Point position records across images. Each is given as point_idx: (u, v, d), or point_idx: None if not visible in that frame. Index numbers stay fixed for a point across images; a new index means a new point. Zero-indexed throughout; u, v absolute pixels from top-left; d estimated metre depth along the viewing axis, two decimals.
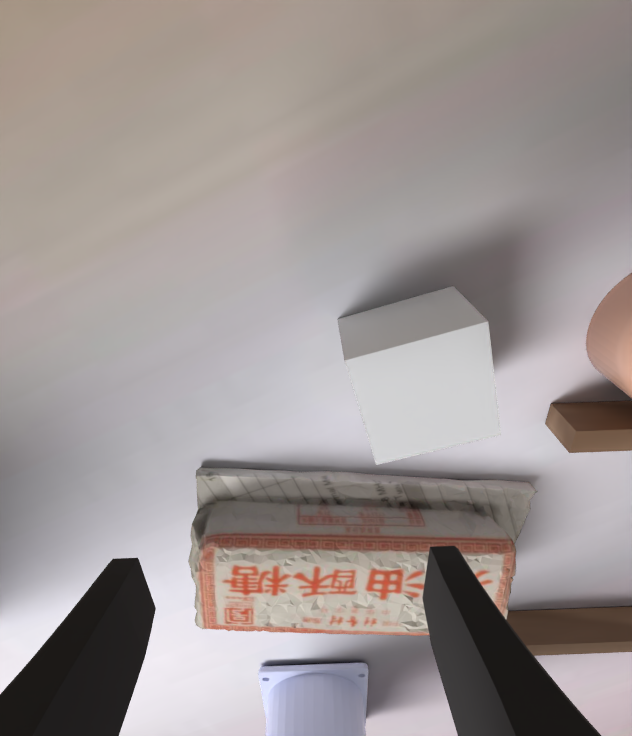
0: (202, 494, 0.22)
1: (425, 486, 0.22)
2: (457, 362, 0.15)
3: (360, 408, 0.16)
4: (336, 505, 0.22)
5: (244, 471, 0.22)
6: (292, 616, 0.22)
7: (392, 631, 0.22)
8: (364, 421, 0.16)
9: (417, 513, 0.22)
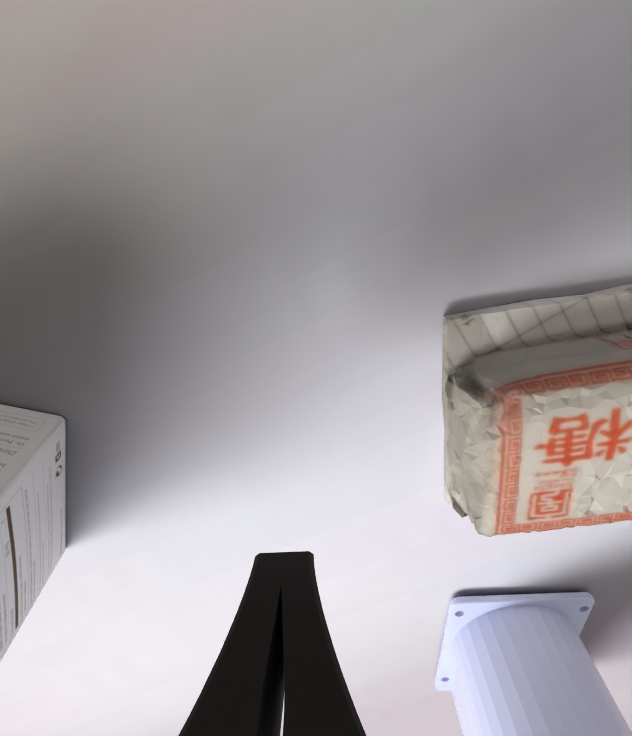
0: (454, 351, 0.16)
1: None
2: None
3: None
4: None
5: (510, 305, 0.15)
6: (628, 492, 0.15)
7: None
8: None
9: None
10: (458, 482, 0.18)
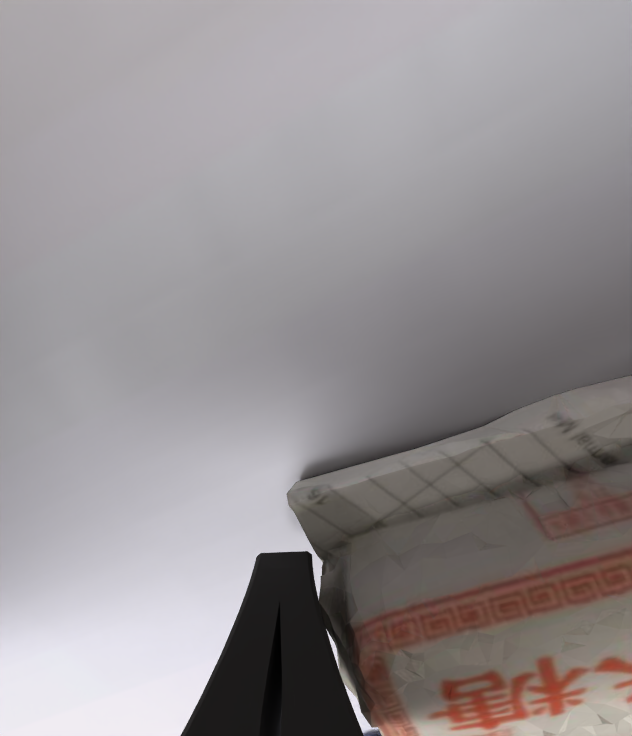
0: (317, 535, 0.11)
1: None
2: None
3: None
4: (608, 468, 0.10)
5: (379, 465, 0.10)
6: None
7: None
8: None
9: None
10: None
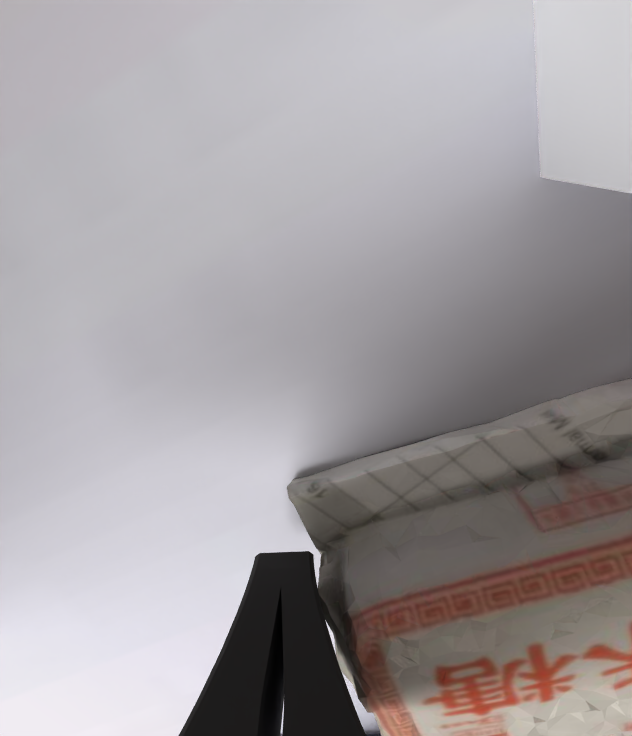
0: (316, 527, 0.11)
1: None
2: None
3: None
4: (598, 464, 0.10)
5: (377, 459, 0.11)
6: (598, 726, 0.10)
7: None
8: None
9: None
10: None
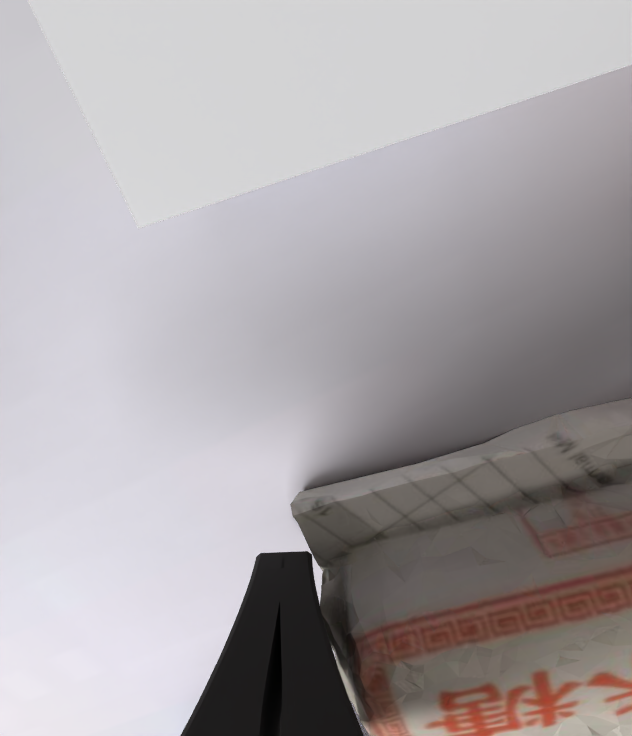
0: (319, 544, 0.11)
1: None
2: None
3: None
4: (604, 488, 0.10)
5: (382, 478, 0.11)
6: None
7: None
8: None
9: None
10: None
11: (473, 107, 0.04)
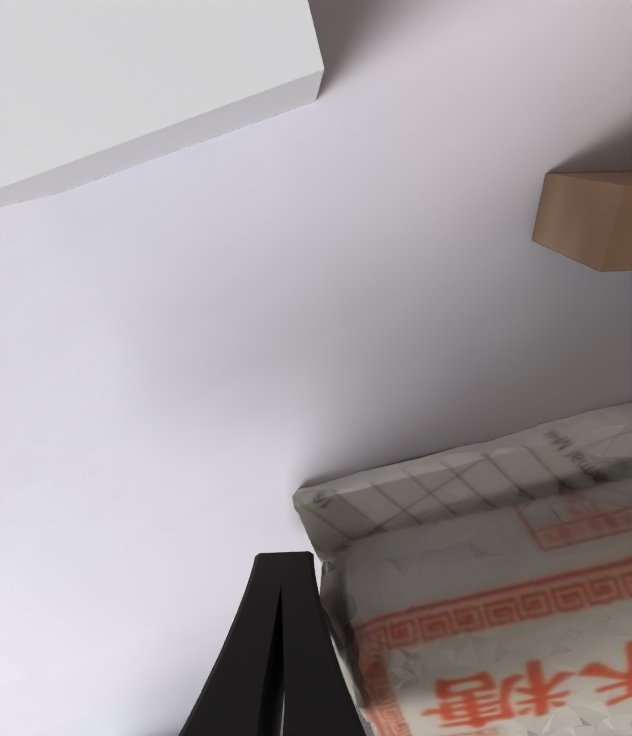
0: (319, 537, 0.11)
1: None
2: None
3: None
4: (598, 485, 0.10)
5: (382, 472, 0.11)
6: None
7: None
8: None
9: None
10: None
11: (169, 115, 0.04)
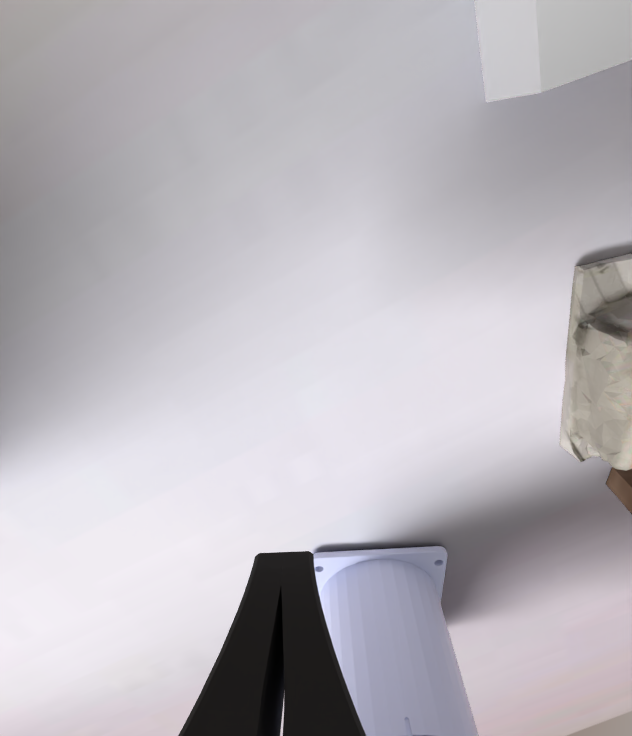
0: (587, 299, 0.17)
1: None
2: None
3: None
4: None
5: None
6: None
7: None
8: None
9: None
10: (583, 426, 0.19)
11: None
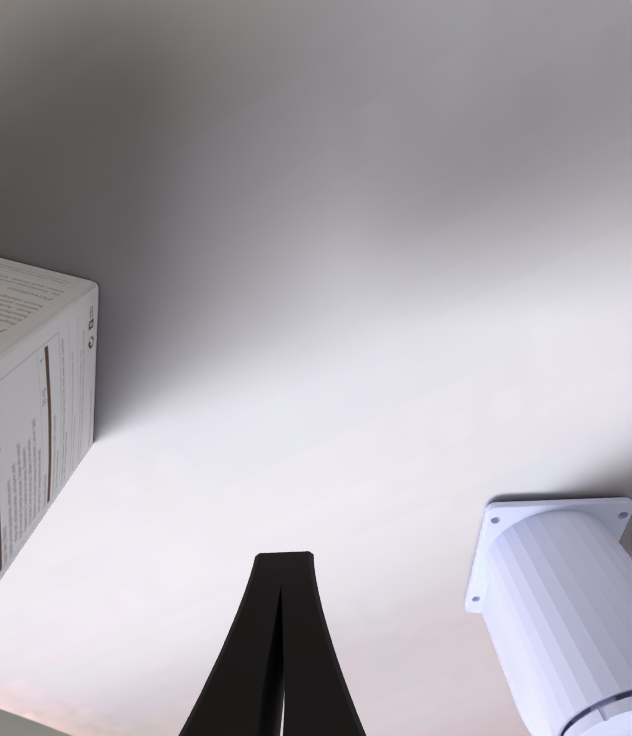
0: None
1: None
2: None
3: None
4: None
5: None
6: None
7: None
8: None
9: None
10: None
11: None
